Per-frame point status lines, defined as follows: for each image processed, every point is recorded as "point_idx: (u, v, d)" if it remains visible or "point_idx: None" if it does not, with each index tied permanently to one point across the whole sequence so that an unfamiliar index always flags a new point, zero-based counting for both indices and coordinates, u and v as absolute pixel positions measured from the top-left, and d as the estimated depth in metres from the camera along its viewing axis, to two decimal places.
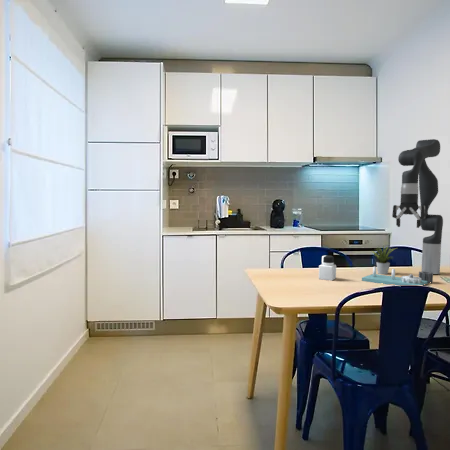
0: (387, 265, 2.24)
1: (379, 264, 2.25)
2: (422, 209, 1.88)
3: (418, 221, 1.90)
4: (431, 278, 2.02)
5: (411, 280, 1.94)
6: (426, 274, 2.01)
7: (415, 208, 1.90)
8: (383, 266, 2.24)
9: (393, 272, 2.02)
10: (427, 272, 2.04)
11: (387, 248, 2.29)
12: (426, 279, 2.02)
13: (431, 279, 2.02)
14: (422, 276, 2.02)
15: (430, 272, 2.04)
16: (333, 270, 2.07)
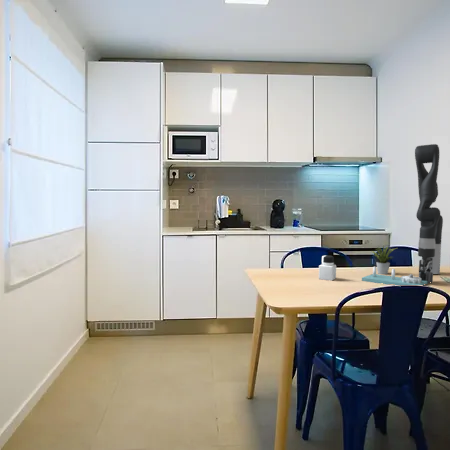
0: (387, 265, 2.24)
1: (379, 264, 2.25)
2: (432, 261, 2.07)
3: None
4: (431, 278, 2.02)
5: (411, 280, 1.94)
6: (426, 274, 2.01)
7: None
8: (383, 266, 2.24)
9: (393, 272, 2.02)
10: (427, 272, 2.04)
11: (387, 248, 2.29)
12: (426, 279, 2.02)
13: (431, 279, 2.02)
14: None
15: (430, 272, 2.04)
16: (333, 270, 2.07)
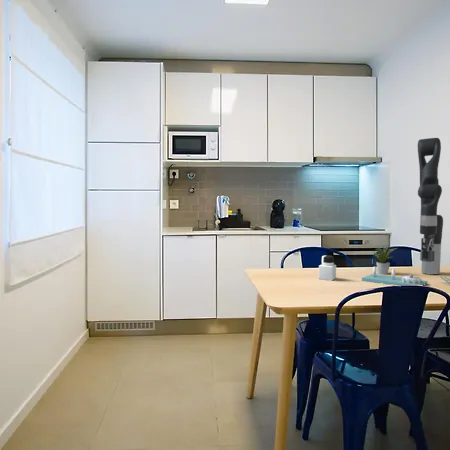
0: (387, 265, 2.24)
1: (379, 264, 2.25)
2: (433, 239, 2.06)
3: None
4: (433, 256, 2.01)
5: (411, 280, 1.94)
6: (428, 252, 2.01)
7: None
8: (383, 266, 2.24)
9: (393, 272, 2.02)
10: (429, 250, 2.04)
11: (387, 248, 2.29)
12: (428, 257, 2.01)
13: (433, 257, 2.01)
14: None
15: (432, 250, 2.03)
16: (333, 270, 2.07)
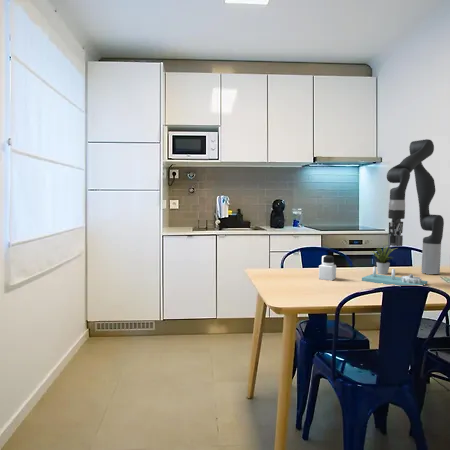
0: (387, 265, 2.24)
1: (379, 264, 2.25)
2: (402, 225, 2.05)
3: None
4: (401, 241, 2.00)
5: (411, 280, 1.94)
6: (396, 237, 1.99)
7: None
8: (383, 266, 2.24)
9: (393, 272, 2.02)
10: (397, 235, 2.02)
11: (387, 248, 2.29)
12: (396, 242, 1.99)
13: (401, 242, 2.00)
14: None
15: (400, 235, 2.02)
16: (333, 270, 2.07)
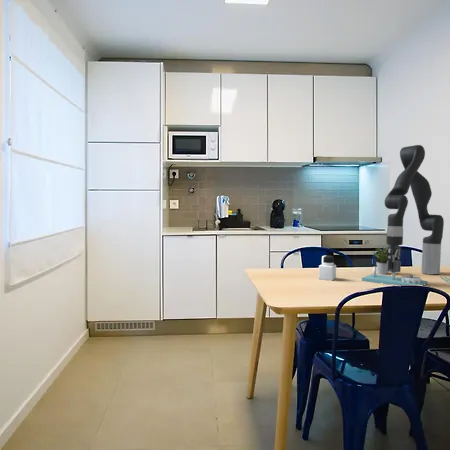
0: None
1: (379, 264, 2.25)
2: (400, 250, 2.06)
3: None
4: (399, 267, 2.01)
5: (411, 280, 1.94)
6: (394, 263, 2.00)
7: None
8: (383, 266, 2.24)
9: (393, 272, 2.02)
10: (395, 261, 2.03)
11: (387, 248, 2.29)
12: (394, 268, 2.01)
13: (399, 268, 2.01)
14: None
15: (398, 261, 2.03)
16: (333, 270, 2.07)
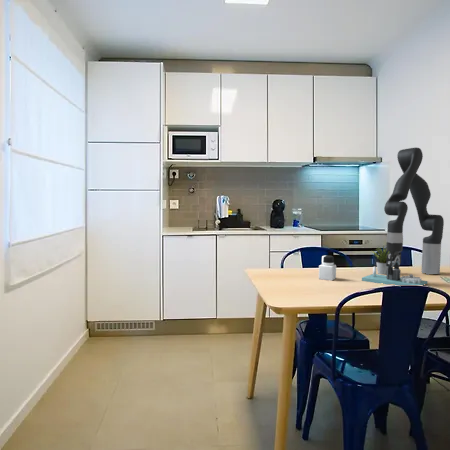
0: None
1: (379, 264, 2.25)
2: (400, 255, 2.06)
3: (398, 266, 2.06)
4: (398, 275, 2.01)
5: (411, 280, 1.94)
6: (393, 271, 2.00)
7: None
8: (383, 266, 2.24)
9: None
10: (395, 269, 2.04)
11: None
12: (393, 276, 2.01)
13: (398, 276, 2.01)
14: None
15: (398, 269, 2.03)
16: (333, 270, 2.07)
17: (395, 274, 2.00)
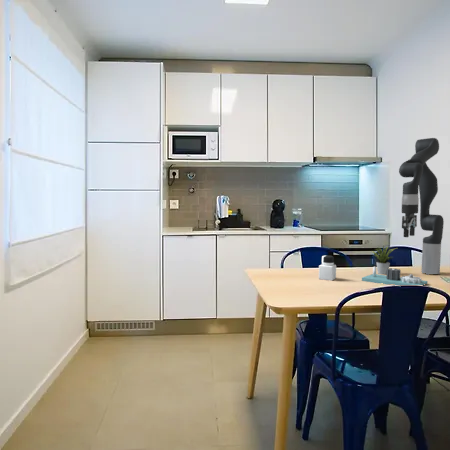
0: (387, 265, 2.24)
1: (379, 264, 2.25)
2: (416, 218, 2.04)
3: None
4: (398, 275, 2.01)
5: (411, 280, 1.94)
6: (393, 271, 2.00)
7: None
8: (383, 266, 2.24)
9: None
10: (395, 269, 2.04)
11: (387, 248, 2.29)
12: (393, 276, 2.01)
13: (398, 276, 2.01)
14: (390, 273, 2.01)
15: (398, 269, 2.03)
16: (333, 270, 2.07)
17: (395, 274, 2.00)
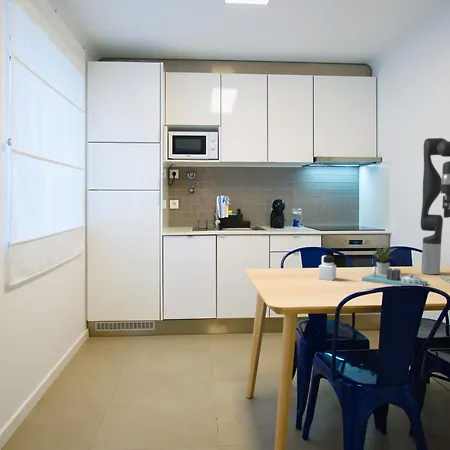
0: (387, 265, 2.24)
1: (379, 264, 2.25)
2: None
3: None
4: (398, 275, 2.01)
5: (411, 280, 1.94)
6: (393, 271, 2.00)
7: None
8: (383, 266, 2.24)
9: None
10: (395, 269, 2.04)
11: (387, 248, 2.29)
12: (393, 276, 2.01)
13: (398, 276, 2.01)
14: (390, 273, 2.01)
15: (398, 269, 2.03)
16: (333, 270, 2.07)
17: (395, 274, 2.00)
